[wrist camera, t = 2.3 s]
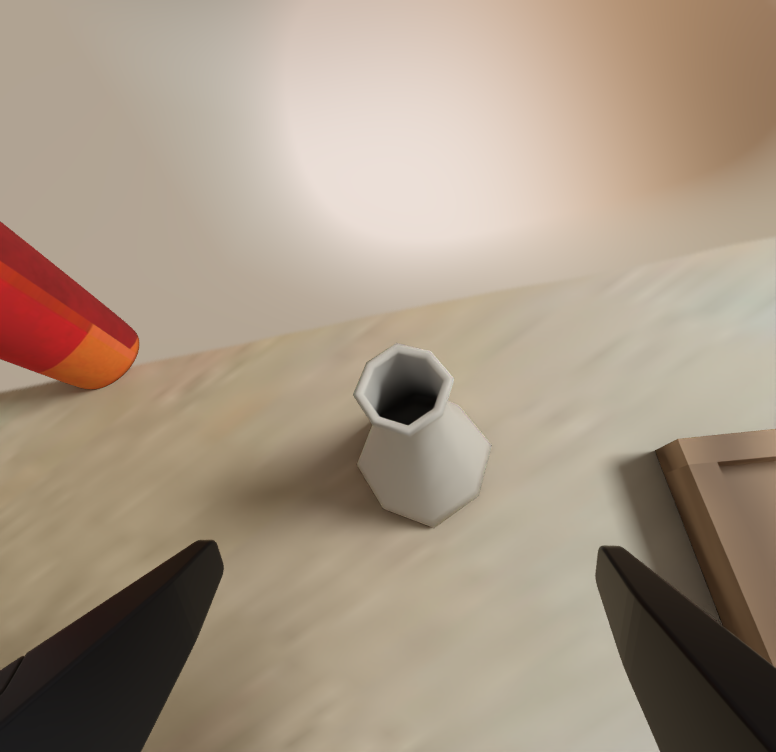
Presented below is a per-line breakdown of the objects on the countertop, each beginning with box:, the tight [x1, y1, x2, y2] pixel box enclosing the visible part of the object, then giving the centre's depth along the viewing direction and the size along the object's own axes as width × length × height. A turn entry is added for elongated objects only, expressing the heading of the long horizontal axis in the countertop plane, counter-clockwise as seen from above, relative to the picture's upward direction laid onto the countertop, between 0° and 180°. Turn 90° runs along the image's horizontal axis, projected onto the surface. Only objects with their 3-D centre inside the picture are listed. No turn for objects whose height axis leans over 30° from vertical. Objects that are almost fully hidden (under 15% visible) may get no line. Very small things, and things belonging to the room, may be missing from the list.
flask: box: [353, 343, 492, 528], centre depth 17 cm, size 7×7×10 cm
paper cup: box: [0, 222, 139, 389], centre depth 22 cm, size 8×8×14 cm
